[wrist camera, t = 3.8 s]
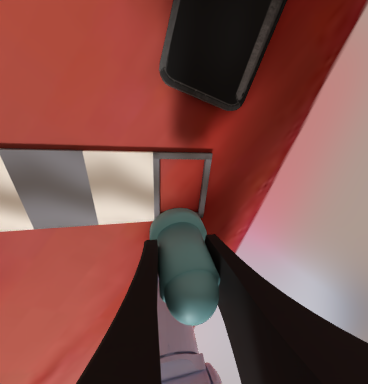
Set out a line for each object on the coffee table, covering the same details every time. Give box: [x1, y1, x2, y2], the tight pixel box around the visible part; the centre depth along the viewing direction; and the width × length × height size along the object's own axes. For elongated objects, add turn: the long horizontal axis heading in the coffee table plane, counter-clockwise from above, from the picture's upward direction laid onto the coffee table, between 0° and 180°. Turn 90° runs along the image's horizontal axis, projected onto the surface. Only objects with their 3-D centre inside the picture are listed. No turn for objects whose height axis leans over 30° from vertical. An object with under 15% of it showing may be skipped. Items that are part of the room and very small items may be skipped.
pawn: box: [150, 208, 220, 326], centre depth 9 cm, size 4×4×6 cm
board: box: [0, 148, 212, 232], centre depth 16 cm, size 8×24×1 cm, turn 86°
